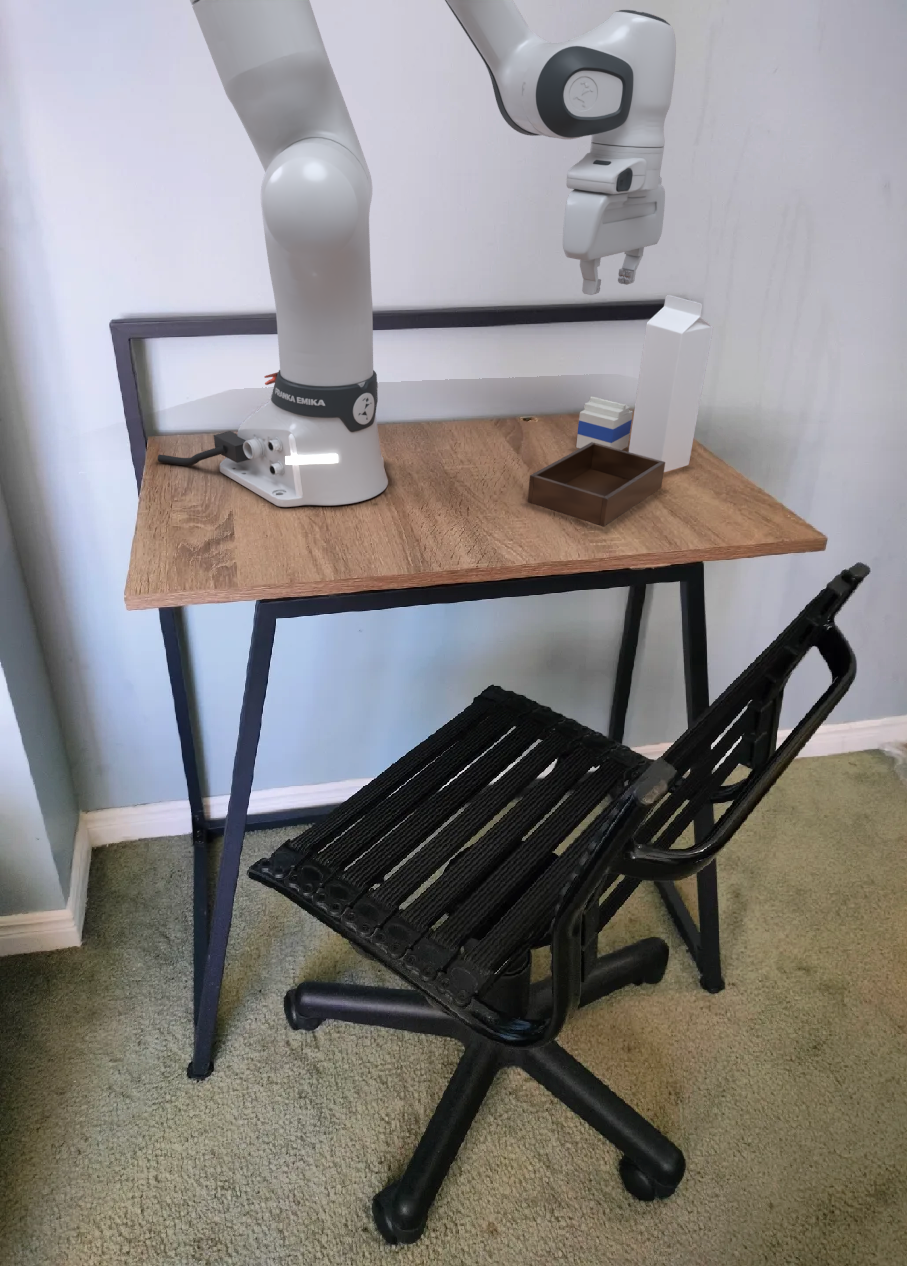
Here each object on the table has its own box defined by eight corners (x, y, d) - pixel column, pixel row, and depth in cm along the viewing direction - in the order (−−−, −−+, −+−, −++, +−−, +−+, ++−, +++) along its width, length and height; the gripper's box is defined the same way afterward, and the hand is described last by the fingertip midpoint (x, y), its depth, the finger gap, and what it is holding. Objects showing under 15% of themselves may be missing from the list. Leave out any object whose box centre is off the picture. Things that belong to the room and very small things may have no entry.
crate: (527, 505, 113) (529, 475, 111) (588, 470, 124) (591, 441, 122) (603, 530, 108) (607, 499, 106) (660, 491, 119) (665, 461, 116)
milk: (659, 477, 123) (686, 306, 111) (626, 462, 127) (648, 296, 115) (689, 467, 126) (718, 300, 114) (656, 453, 130) (681, 291, 118)
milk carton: (575, 450, 130) (580, 401, 126) (594, 440, 134) (600, 392, 130) (609, 459, 127) (615, 409, 123) (627, 449, 131) (634, 400, 127)
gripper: (640, 164, 122) (624, 274, 129) (559, 172, 108) (547, 295, 115) (683, 169, 119) (665, 281, 126) (606, 178, 104) (591, 304, 112)
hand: (608, 288), depth 120 cm, fingers open, 8 cm apart
